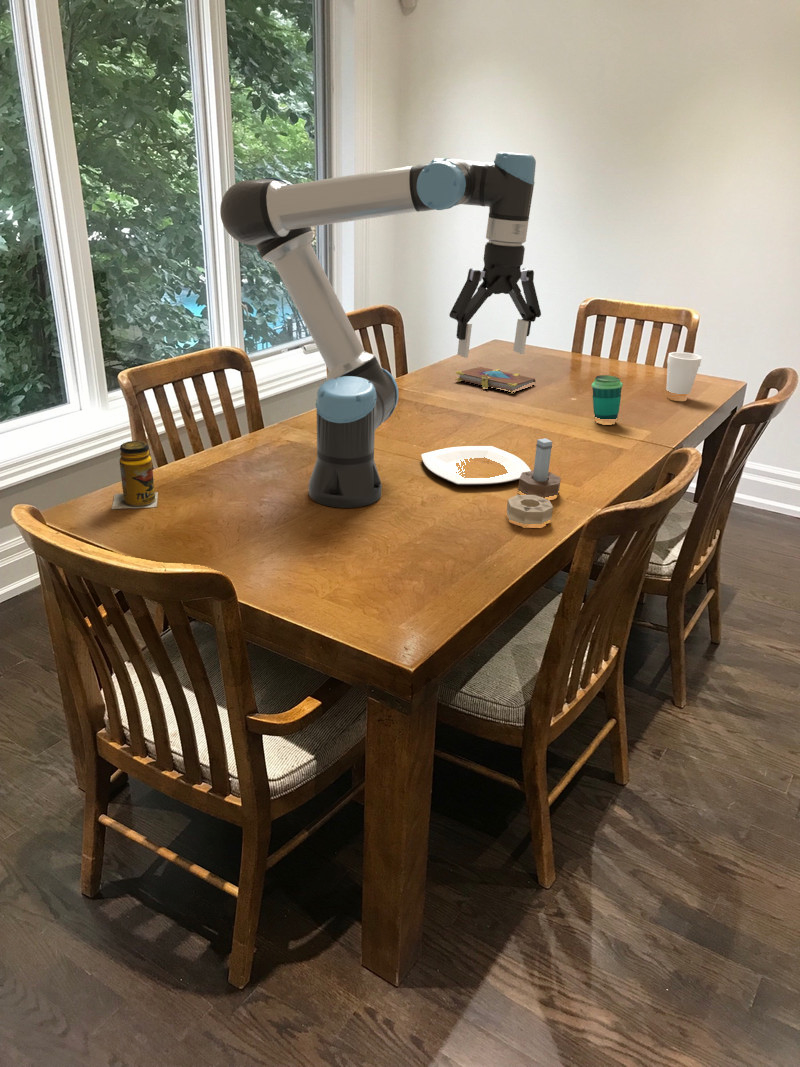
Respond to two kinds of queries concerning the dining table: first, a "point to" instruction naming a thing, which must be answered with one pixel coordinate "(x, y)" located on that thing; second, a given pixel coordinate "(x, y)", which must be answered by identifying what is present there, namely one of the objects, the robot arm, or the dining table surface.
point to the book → (494, 378)
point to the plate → (447, 458)
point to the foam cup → (682, 371)
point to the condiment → (136, 477)
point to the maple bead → (529, 509)
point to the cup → (606, 396)
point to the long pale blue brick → (542, 460)
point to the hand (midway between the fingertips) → (491, 354)
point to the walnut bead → (539, 485)
